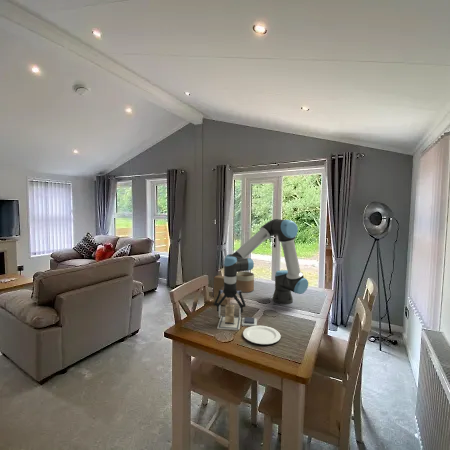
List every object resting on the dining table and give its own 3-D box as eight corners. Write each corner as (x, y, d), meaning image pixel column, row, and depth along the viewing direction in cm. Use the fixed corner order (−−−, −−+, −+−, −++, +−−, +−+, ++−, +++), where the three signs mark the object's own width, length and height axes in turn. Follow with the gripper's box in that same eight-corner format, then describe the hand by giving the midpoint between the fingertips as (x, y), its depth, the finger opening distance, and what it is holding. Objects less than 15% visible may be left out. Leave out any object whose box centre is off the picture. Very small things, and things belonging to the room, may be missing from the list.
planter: (248, 294, 214) (248, 277, 213) (231, 290, 222) (231, 274, 221) (256, 289, 227) (257, 273, 226) (240, 285, 235) (241, 270, 234)
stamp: (234, 320, 163) (234, 305, 162) (233, 324, 158) (233, 308, 157) (226, 320, 164) (226, 304, 163) (225, 323, 159) (225, 307, 158)
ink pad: (256, 320, 166) (256, 316, 166) (256, 326, 157) (256, 323, 157) (242, 319, 167) (242, 315, 167) (241, 325, 158) (241, 322, 158)
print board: (241, 318, 168) (241, 316, 168) (239, 330, 152) (239, 328, 152) (220, 317, 170) (220, 315, 170) (217, 328, 154) (217, 327, 154)
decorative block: (230, 303, 193) (230, 277, 191) (226, 306, 188) (227, 279, 186) (217, 301, 198) (217, 275, 196) (213, 303, 193) (213, 276, 191)
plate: (254, 350, 132) (254, 347, 132) (236, 331, 151) (236, 329, 151) (288, 342, 141) (288, 339, 140) (267, 325, 160) (267, 322, 159)
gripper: (250, 281, 161) (249, 315, 163) (211, 279, 164) (211, 313, 166) (249, 285, 154) (249, 320, 155) (209, 283, 157) (209, 318, 158)
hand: (229, 316), depth 161 cm, fingers open, 12 cm apart
